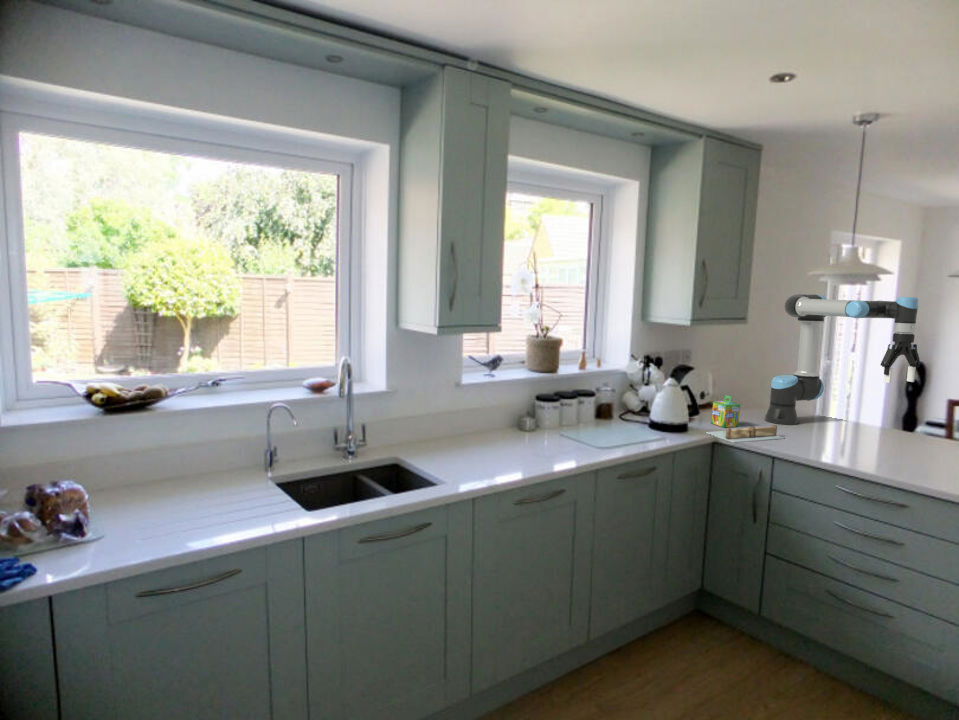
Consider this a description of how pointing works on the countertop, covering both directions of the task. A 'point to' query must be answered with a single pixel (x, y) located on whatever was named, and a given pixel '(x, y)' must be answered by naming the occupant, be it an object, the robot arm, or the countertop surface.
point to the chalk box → (725, 413)
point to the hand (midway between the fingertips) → (898, 382)
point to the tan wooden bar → (737, 433)
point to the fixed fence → (763, 431)
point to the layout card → (746, 439)
